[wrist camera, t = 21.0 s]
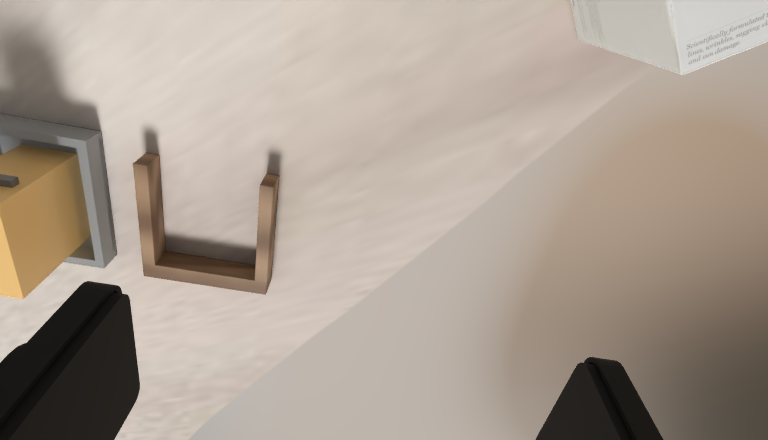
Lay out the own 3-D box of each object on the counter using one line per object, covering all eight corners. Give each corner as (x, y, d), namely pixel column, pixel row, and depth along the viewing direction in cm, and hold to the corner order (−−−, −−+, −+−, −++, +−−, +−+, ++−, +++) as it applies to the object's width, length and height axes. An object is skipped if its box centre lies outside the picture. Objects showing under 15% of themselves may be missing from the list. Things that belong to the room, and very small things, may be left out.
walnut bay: (146, 153, 43) (133, 163, 41) (279, 176, 44) (273, 187, 42) (154, 261, 50) (143, 275, 47) (271, 279, 50) (265, 294, 48)
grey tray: (-12, 111, 42) (-34, 120, 39) (101, 131, 42) (85, 141, 40) (20, 239, 48) (3, 252, 46) (117, 254, 49) (104, 268, 47)
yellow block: (19, 138, 42) (-78, 186, 34) (76, 147, 43) (-5, 197, 34) (40, 227, 47) (-40, 290, 38) (91, 235, 47) (23, 298, 39)
